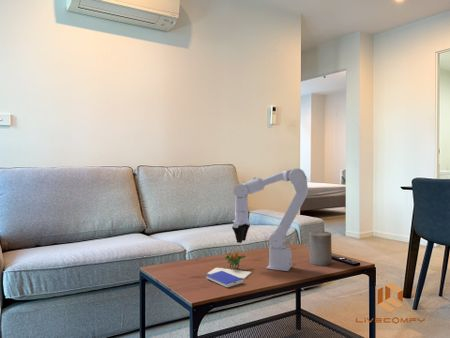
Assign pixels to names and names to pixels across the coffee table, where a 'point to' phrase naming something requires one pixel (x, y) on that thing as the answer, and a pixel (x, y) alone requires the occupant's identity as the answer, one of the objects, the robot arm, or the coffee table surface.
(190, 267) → the coffee table surface
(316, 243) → the pillar candle
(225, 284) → the hard drive
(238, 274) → the cream mat
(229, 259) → the figurine
